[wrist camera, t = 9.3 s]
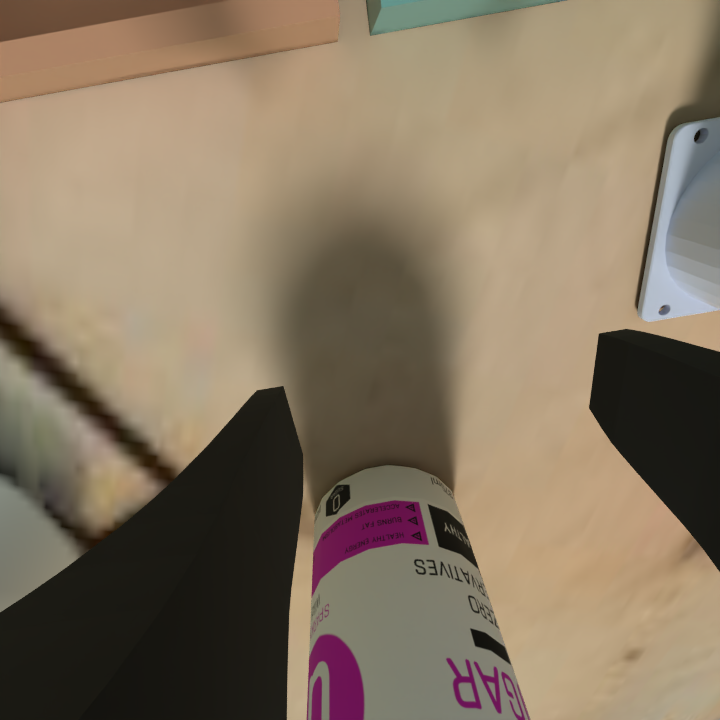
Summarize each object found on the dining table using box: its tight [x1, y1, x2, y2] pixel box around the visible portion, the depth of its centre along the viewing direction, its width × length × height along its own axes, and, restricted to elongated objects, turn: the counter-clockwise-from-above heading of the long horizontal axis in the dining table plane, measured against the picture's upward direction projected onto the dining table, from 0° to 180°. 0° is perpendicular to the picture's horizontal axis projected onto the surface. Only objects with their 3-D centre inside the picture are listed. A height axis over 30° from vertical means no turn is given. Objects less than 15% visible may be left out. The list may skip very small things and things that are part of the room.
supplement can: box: [307, 465, 530, 720], centre depth 18 cm, size 8×8×15 cm
